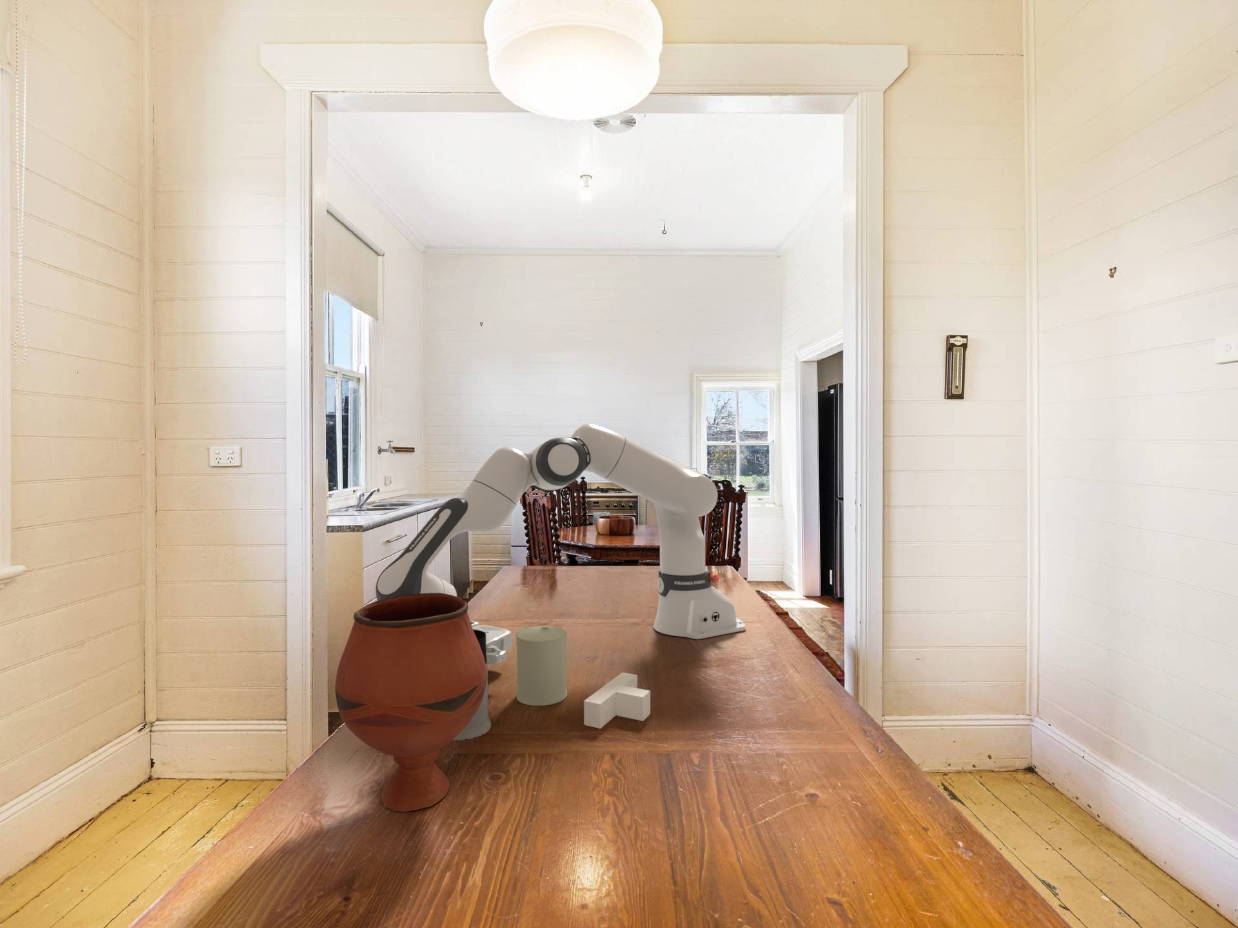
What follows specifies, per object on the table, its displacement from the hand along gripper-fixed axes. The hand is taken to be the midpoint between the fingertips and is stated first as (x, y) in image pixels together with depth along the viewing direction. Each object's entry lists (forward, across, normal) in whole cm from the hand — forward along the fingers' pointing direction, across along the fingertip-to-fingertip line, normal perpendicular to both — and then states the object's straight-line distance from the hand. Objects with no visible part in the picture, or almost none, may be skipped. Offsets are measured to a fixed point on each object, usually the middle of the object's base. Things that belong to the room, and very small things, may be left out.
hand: (502, 657), depth 119 cm
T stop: (+26, 0, +5) cm, 26 cm away
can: (+9, 0, +6) cm, 11 cm away
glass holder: (+5, -19, +6) cm, 21 cm away
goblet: (+12, -34, +6) cm, 36 cm away
